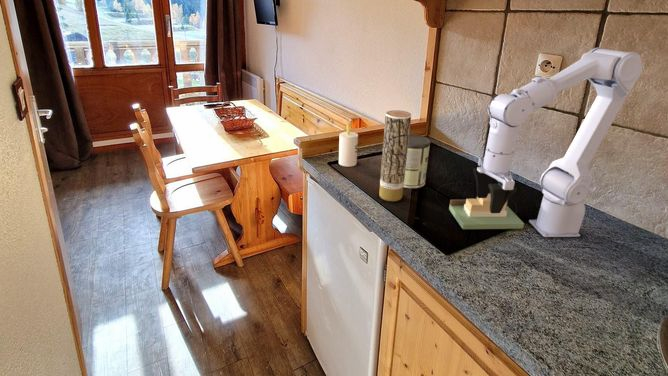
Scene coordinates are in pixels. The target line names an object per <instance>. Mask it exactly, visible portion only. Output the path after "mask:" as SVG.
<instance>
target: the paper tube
mask: <svg viewBox="0 0 668 376" xmlns="http://www.w3.org/2000/svg"><path fill="white" fill-rule="evenodd" d="M411 122H412V113H411V112H409V111H405V110H397V109H396V110H395V109H394V110H388V111H386V112H385V118H384V130H383V143H382V152H381V153H382V155H381V166H380V167H381V168H380V179H379V190H378V191H379V192H378V194H379V198H380V199H382V200H383V201H385V202H398V201H401V200H402V198H403V195H404V187H403V186H404V178H405V169H406V160H407V151H408V141H409V135H410V131H411Z"/></svg>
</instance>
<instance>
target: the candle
mask: <svg viewBox="0 0 668 376" xmlns="http://www.w3.org/2000/svg"><path fill="white" fill-rule="evenodd" d="M338 137H339V138H338V139H339V141H338V164H339V165H340V166H342V167H349V168H350V167H354V166H356V165H358V151H359V148H358V147H359V144H358V143H359V134H358V133H357V132H355V131H354V132H353V131H351V125H350V123H349V121H346V131H342V132H340V133H339V136H338Z"/></svg>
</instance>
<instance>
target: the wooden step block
mask: <svg viewBox="0 0 668 376" xmlns="http://www.w3.org/2000/svg"><path fill="white" fill-rule="evenodd" d="M490 201H491V195H490V193H488V196H487V198H478V197H477V196H476V198H466V204H464V210H465V212H466V213H467V214H468V216H469V217H501V216H506V215H507V211H506V210H505V208H506V204H507V205H508V203H507V202H506V203H505V205H504V207H503V209H502V210H501V212H500V213H491V212H490Z"/></svg>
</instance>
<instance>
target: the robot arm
mask: <svg viewBox="0 0 668 376" xmlns="http://www.w3.org/2000/svg"><path fill="white" fill-rule="evenodd" d="M643 70H644V67H643V62H642V57H641V55H640V54H639V53H638V52H634V51H631V52H629V51H622V50H615V49H608V48H607V49H606V48H602V47H595V48H592V49H591V50H589V51H587V52H584V53H583V54H582V55H581V57H580V59H578V60H576V61H575V62H573V63H572V64H571V65H568V66H567V67H566V68H564V69H562V70H561V71H559V72H557V73H556V74H554V75H553V76H551V77H549V78H548V77H545V76H535V77H533V78H532V79H531V81H530V82H528V83H527V84H525V85H523V86H521V87H519V88H518V87H517V88H515V89H513V90H512V91H511V92H510V93H509V94H508V93H500V94H498V95H497V96H495V97H494V98H493V99H492V100H491V102H490V104H489V105H488V106H487V109H486V110H487V114H488V116H489V131H488V132H489V133H488V137H487V142H486V147H485V151H484V156H479V157H478V161H477V165H478V166H477V167H474V168H472V172H473V175H474V178H475V186H476V187H475V188H476V198H477V197H478V198H487V196H488V194H490V195H491V201H490V212H491V213H500V212H501V210H502V209H503V207H504V205H505V203H506V202H507V200H508V201H509V199H510V198H511V197H512V196H513V195H514V194H515V193H516V192H517V186H515V183H516V181H515V180H514V179H513V175H512V171H511V166H512V160H513V157H514V152H515V148H516V147H515V146H516V143H517V138H518V134H519V129H520V126H522V125H523V124H524V123H525V122H526V121H527V120H528V118H529V116H530V115H532V114H533V112H536V111H537V110H539V109H540V108H543V107H544V106H547V105H548V104H550V103H552V102H554V101H555V100H556V98H557V96H558V93H560V92H562V91H564V90H567V89H569V88H571V87H573V86H575V85H577V84H580V83H582V82H584V81H586V80H588V81H589V83H590V84H591V86H593V88H595V91H596V97H595V98H594V101H593V103H592V105H591V106H590V108H589V110H588V112H587V114H586V116H585V118H584V119H583V121H582V123H581V124H580V127H579V128H578V130H577V132H576V134H575V136H574V138H573V140H572V141H571V143H570V145H569V147H568V149H567V150H566V153H565V154H564V155H563V157H561V158H558V159H555V160H553V161H551V163H550V165H549V166H548V168H547V169H546V170H545V171H543V173H542V174H541V176H540V178H539V186H540V188H541V189H542V191H541V193H542V194H543V196H542V200H541V203H540V206H539V207H540V208H539V211H538V214H537V218H536V219H529V220H528V223H529V224H530V225H531V226H532V227H533V228H534V229H535V230H536V231H537V232H538V233H539V234H540V235H541V236H542V237H544V238H579V237H581V234H580V229H581V226H582V225H583V224H582V223H583V220H584V218H585V215H586V205H585V203H584V200H585V199H586V198H587V196H588V195H589V194H588V193H589V191H590V185H591V183H592V182H593V180H594V178H593V175H592V173H591V172H590V170H589V164H590V163H591V161H592V159H593V158H594V156H595V154H596V152H597V150H598V149H599V147H600V145H601V144H602V142H603V140H604V138H605V137H606V135H607V133H608V131H609V129H610V128H611V126H612V125H613V123H614V121H615V119H616V117H617V116H618V114H619V112H620V110H621V109H622V107H623V105H624V103H625V101H626V100H627V98H628V96H629V94H630V93H631V92H632V89H633V88H634V86H635V84H636V83H637V81H638V79H639V77H640V76H641V74H642V72H643ZM494 180H495V181H497V183H493V182H494Z"/></svg>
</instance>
